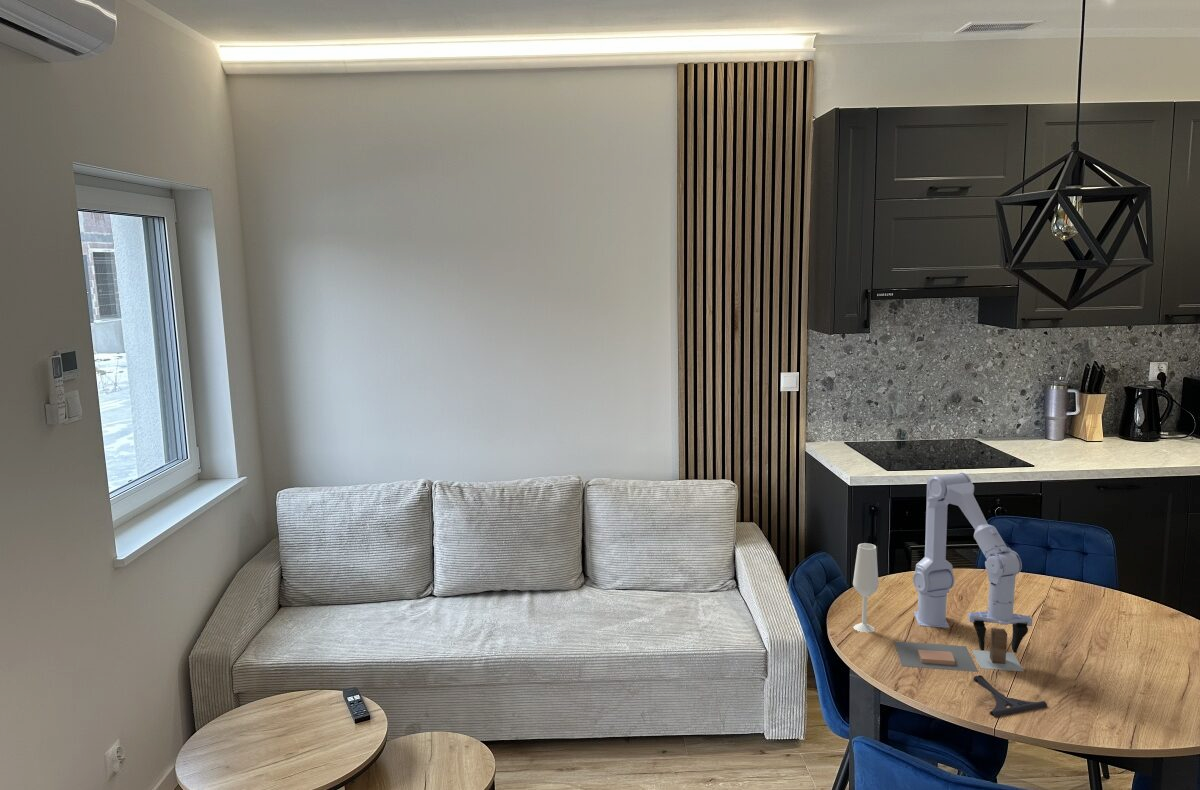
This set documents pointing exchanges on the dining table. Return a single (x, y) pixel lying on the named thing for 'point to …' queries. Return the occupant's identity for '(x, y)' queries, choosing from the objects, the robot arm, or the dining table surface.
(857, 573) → the champagne flute
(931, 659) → the tile
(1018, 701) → the bracket
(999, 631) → the walnut stick
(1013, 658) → the rest pad
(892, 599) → the dining table surface
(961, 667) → the slate mat
